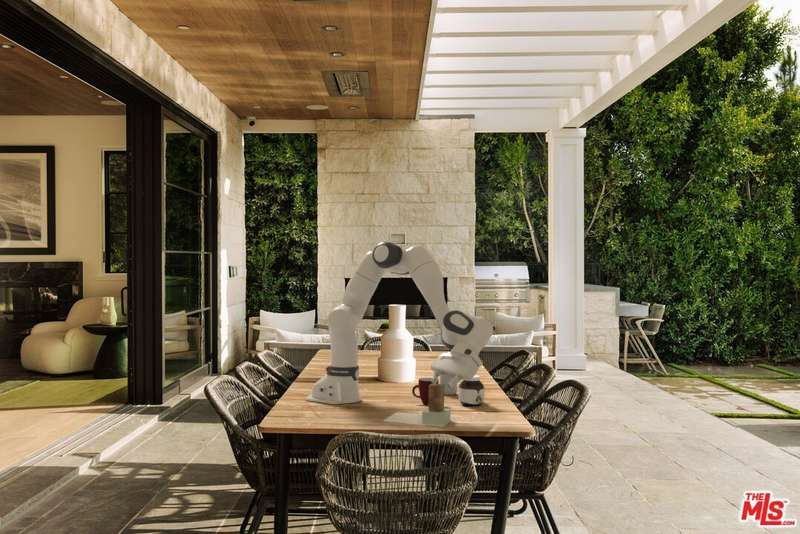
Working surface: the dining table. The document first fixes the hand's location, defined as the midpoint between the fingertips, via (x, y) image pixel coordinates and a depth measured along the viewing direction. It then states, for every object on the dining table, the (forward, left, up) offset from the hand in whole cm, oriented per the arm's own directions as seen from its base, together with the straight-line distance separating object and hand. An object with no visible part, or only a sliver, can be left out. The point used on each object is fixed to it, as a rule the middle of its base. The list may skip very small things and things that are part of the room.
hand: (441, 384), depth 241 cm
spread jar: (+2, +38, -14) cm, 41 cm away
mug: (-15, +30, -14) cm, 37 cm away
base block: (-1, -2, -13) cm, 13 cm away
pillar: (-1, -2, -9) cm, 9 cm away
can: (-12, +54, -14) cm, 58 cm away
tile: (-8, 0, -14) cm, 16 cm away
